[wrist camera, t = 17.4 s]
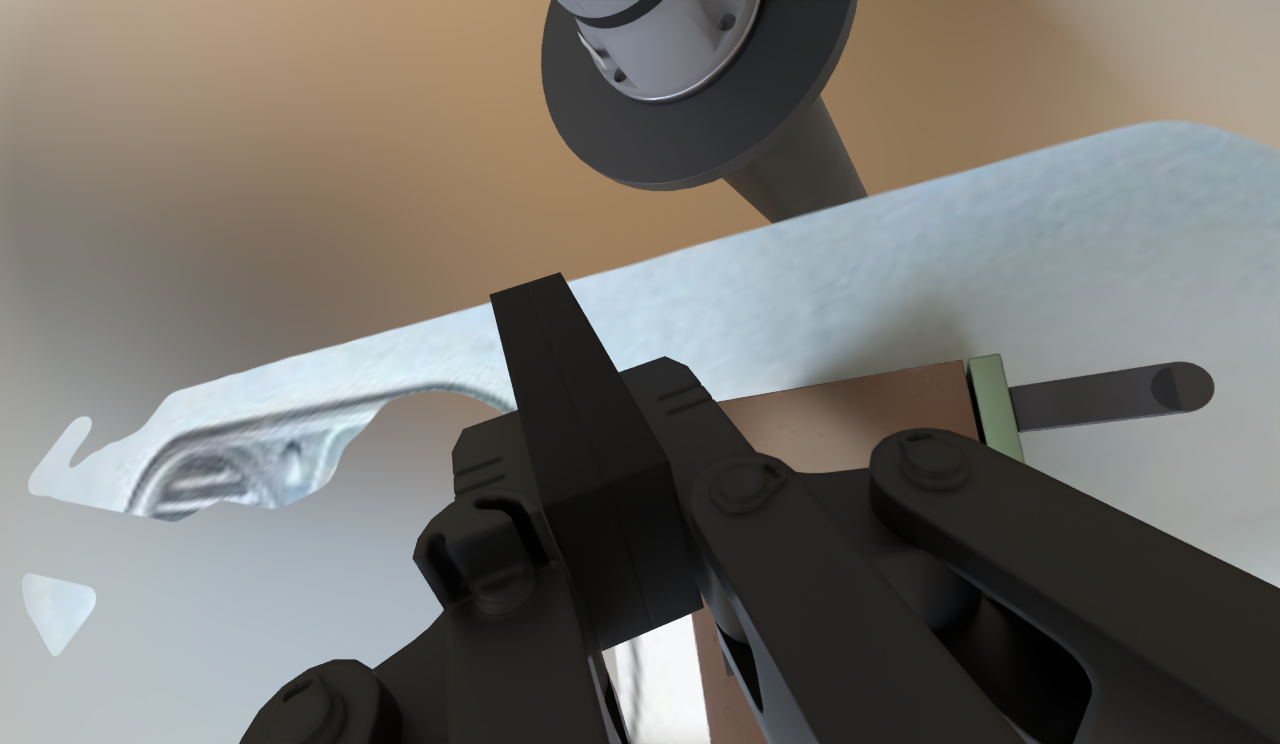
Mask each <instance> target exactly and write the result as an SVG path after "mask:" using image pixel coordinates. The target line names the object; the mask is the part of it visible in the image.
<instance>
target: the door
mask: <svg viewBox="0 0 1280 744" xmlns="http://www.w3.org/2000/svg"><path fill="white" fill-rule="evenodd" d="M966 379H967V384H968V388H969V393H970V397H971V402H972V406H973V411H974V415H975V420H976V425H977V429H978V434H979V438H980V442H981V443H983V444H985V445H987V446H989V447H991V448H993V449H995V450H997V451H999V452H1001V453H1003V454H1005V455H1007V456H1009V457H1011V458H1014V459H1016V460H1018V461H1020V462H1022V463H1024V464H1025V460H1024V456H1023V451H1022V447H1021V442H1020V438H1019V434H1018V432H1020V433H1023V432H1031V431H1040V430H1048V429H1056V428H1064V427H1073V426H1081V425H1089V424H1098V423H1106V422H1114V421H1123V420H1131V419H1139V418H1147V417H1156V416H1164V415H1172V414H1181V413H1189V412H1193V411H1196V410H1199V409H1201V408H1202V407H1204V406H1205V405H1206V404H1208V403H1209V401H1210V400H1211V399H1212V397H1213V394H1214V390H1215V386H1214V382H1213V379H1212V377H1211V376H1210V374H1209V373H1208V372H1207V371H1206V370H1205V369H1203V368H1202V367H1200V366H1198V365H1196V364H1193V363H1188V362H1171V363H1165V364H1158V365H1151V366H1145V367H1138V368H1132V369H1125V370H1119V371H1112V372H1105V373H1099V374H1092V375H1086V376H1079V377H1073V378H1066V379H1060V380H1053V381H1046V382H1040V383H1033V384H1027V385H1020V386H1014V387H1008V385H1007V381H1006V377H1005V372H1004V368H1003V363H1002V359H1001V355H1000V354H992V355H987V356H981V357H975V358H970V359H969V360H968V366H967V374H966Z"/></svg>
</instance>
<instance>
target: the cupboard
mask: <svg viewBox="0 0 1280 744" xmlns="http://www.w3.org/2000/svg"><path fill="white" fill-rule="evenodd" d="M717 404H718V405H719V406H720V407H721V409H722V410H723V411H724V412H725V413H726V415H727V416H728V417H729V418H730V420H731V421H732V422H733V423H734V425H735V426H736V427H737V428H738V430H739V431H740V432H741V433H742V435H743V436H744V437H745V438H746V440H747V441H748V442H749V443H750V445H751V446H752V447H753V448H754V450H755V451H756V452H760V453H763V454H766V455H770V456H773V457H776V458H779V459H780V460H782V461H783V462H784V463H786V464H787V465H788V466H789V467H791V468H792V469H793V470H794V471H796V472H803V473H828V472H836V471H844V470H852V469H860V468H868V467H869V463H870V458H871V453H872V450H873V449H874V448H875V447H876V446H877V445H878V444H879V442H880V441H881V440H882V439H883V438H885V437H888V436H890V435H892V434H894V433H897V432H899V431H901V430H909V429H916V428H933V429H943V430H950V431H953V432H955V433H958V434H961V435H964V436H967V437H970V438H973V439H975V440H977V441H979V437H978V432H977V427H976V423H975V418H974V413H973V409H972V404H971V399H970V395H969V390H968V385H967V380H966V376H965V371H964V366H963V362H962V360H956V361H950V362H944V363H939V364H933V365H927V366H921V367H916V368H910V369H904V370H898V371H892V372H887V373H881V374H875V375H869V376H864V377H858V378H852V379H846V380H841V381H835V382H829V383H823V384H817V385H812V386H806V387H800V388H794V389H789V390H783V391H777V392H771V393H765V394H760V395H754V396H748V397H742V398H737V399H731V400H725V401H719V402H717ZM979 442H980V441H979ZM700 592H701V591H700ZM701 596H702V600H703V605H704V608H703V609H700V610H698V611H696V612H693V613H691V615H692V622H693V629H694V635H695V642H696V649H697V655H698V662H699V669H700V676H701V682H702V689H703V696H704V702H705V709H706V716H707V723H708V729H709V736H710V743H711V744H768V742H767V740H766V738H765V736H764V734H763V732H762V730H761V728H760V726H759V724H758V721H757V719H756V717H755V715H754V713H753V711H752V709H751V707H750V705H749V703H748V701H747V699H746V697H745V695H744V692H743V690H742V688H741V686H740V684H739V682H738V680H737V678H736V676H735V674H734V675H732V676H730V677H728V676H727V672H726V668H725V664H724V660H723V656H722V651H721V647H720V642H719V638H718V634H717V629H716V625H715V620H714V617H713V615H712V613H711V611H710V609H709V607H708V605H707V603H706V601H705V599H704V597H703V595H702V593H701Z"/></svg>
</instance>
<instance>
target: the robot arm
mask: <svg viewBox="0 0 1280 744" xmlns="http://www.w3.org/2000/svg"><path fill="white" fill-rule="evenodd" d="M557 1H558V2H559V3H561V4H562V5H563V6H564V7H565V8H566V9H567V10H568V11H569V12H570V13H571V14H572V15H573V16H574V17H575V18H576V21H577V23H578V25H579V28H580V30H581V32H582V35H583V37H584V38H583V37H582V36H581V35H580V34H579V33H578V34H579V36H580V38H581V41H582V43H583V44H584V45H585V46H586V47H587V48H588V50H589V51H590V53H591V55H592V58H593V60H594V62H595V64H596V66H597V67H598V69H599V70H600V72H601V73H602V74H603V76H604V77H605V78H606V80H607V81H608V82H609V83H610V84H611V85H612V86H613V87H614V88H616V89H617V90H618V91H619V92H620V93H621V94H623V95H624V96H625V97H627V98H629V99H630V100H633V101H635V102H638V103H641V104H645V105H654V106H660V105H669V104H675V103H678V102H682V101H684V100H687V99H689V98H692V97H694V96H696V95H698V94H700V93H701V92H703V91H704V90H706V89H708V88H709V87H710V86H712V85H713V84H714V83H716V82H717V81H718V80H719V79H720V78H722V77H723V76H724V75H725V74H726V73H727V72H728V71H729V70H730V69H731V67H732V66H733V65H734V64H735V63H736V62H737V60H738V59H739V58H740V56H741V55H742V53H743V52H744V50H745V49H746V47H747V46H748V44H749V42H750V40H751V38H752V37H753V35H754V32H755V30H756V28H757V25H758V23H759V20H760V17H761V14H762V10H763V6H764V0H557ZM584 39H585V40H584ZM490 298H491V302H492V306H493V311H494V315H495V319H496V323H497V327H498V331H499V335H500V339H501V343H502V347H503V351H504V355H505V359H506V363H507V367H508V371H509V375H510V379H511V383H512V387H513V392H514V396H515V400H516V404H517V408H518V410H516V411H513V412H511V413H508V414H505V415H502V416H500V417H496V418H493V419H491V420H488V421H485V422H482V423H479V424H476V425H474V426H471V427H468V428H465V429H463V431H462V433H461V435H460V437H459V439H458V441H457V443H456V445H455V447H454V449H453V451H452V461H453V474H454V492H455V495H456V497H455V501H454V502H453V503H451V504H450V505H448V506H447V507H446V508H445V509H443V510H442V511H441V512H440V513H439V514H437V515H436V516H435V517H434V518H433V519H431V521H430V522H429V523H428V525H427V526H426V528H425V529H424V531H423V532H422V534H421V535H420V536H419V538H418V540H417V543H416V547H415V551H414V555H413V560H414V561H415V563H416V564H417V566H418V568H419V570H420V571H421V573H422V574H423V576H424V578H425V579H426V581H427V583H428V584H429V586H430V587H431V589H432V591H433V592H434V594H435V595H436V597H437V599H438V600H439V602H440V603H441V605H442V607H443V608H444V611H443V612H442V613H441V615H440V616H439V617H438V618H437V619H436V620H435V621H434V623H433V624H432V625H431V626H430V627H429V628H428V629H427V630H425V631H424V632H423V633H422V634H421V635H419V636H418V637H417V638H416V639H415V640H413V641H412V642H411V643H409V644H408V645H407V646H405V647H404V648H402V649H401V650H400V651H398V652H397V653H395V654H394V655H392V656H391V657H390V658H388V659H387V660H385V661H384V662H382V663H381V664H380V665H378V666H377V667H375V668H374V669H371V668H369V667H368V666H366V665H364V664H363V663H361V662H359V661H358V660H355V659H354V660H353V659H350V660H348V659H347V660H346V659H345V660H344V659H342V660H341V659H339V660H338V659H336V660H335V659H334V660H331V661H329V662H326V663H323V664H321V665H318V666H315V667H312V668H310V669H308V670H306V671H305V672H303V673H302V674H300V675H299V676H297V677H296V678H294V679H293V680H292V681H290V682H288V683H287V684H286V685H284V686H283V687H282V688H281V689H280V690H279V691H278V692H277V693H276V694H275V695H274V696H273V697H272V698H271V699H270V700H269V701H268V702H267V703H266V704H265V705H264V706H263V707H262V708H261V709H260V710H259V712H258V713H257V715H256V717H255V718H254V720H253V721H252V723H251V725H250V726H249V728H248V729H247V731H246V732H245V734H244V736H243V737H242V739H241V741H240V743H239V744H631V741H630V738H629V734H628V731H627V727H626V724H625V721H624V717H623V714H622V710H621V707H620V704H619V700H618V697H617V693H616V690H615V688H614V685H613V683H612V681H611V678H610V676H609V673H608V671H607V669H606V665H605V662H604V658H603V655H602V651H604V650H606V649H608V648H611V647H613V646H616V645H618V644H620V643H623V642H625V641H627V640H630V639H632V638H635V637H637V636H639V635H642V634H644V633H646V632H649V631H651V630H653V629H656V628H658V627H660V626H663V625H665V624H668V623H670V622H672V621H675V620H677V619H679V618H682V617H684V616H686V615H689V614H691V613H693V612H696V611H698V610H700V609H703V608H704V605H703V600H702V596H701V593H702V595H703V597H704V599H705V601H706V603H707V605H708V607H709V609H710V611H711V613H712V615H713V617H714V620H715V625H716V629H717V634H718V638H719V642H720V647H721V651H722V656H723V660H724V664H725V668H726V672H727V676H728V677H730V676H732V675H734V674H735V676H736V678H737V680H738V682H739V684H740V686H741V688H742V690H743V692H744V695H745V697H746V699H747V701H748V703H749V705H750V707H751V709H752V711H753V713H754V715H755V717H756V719H757V721H758V724H759V726H760V728H761V730H762V732H763V734H764V736H765V738H766V740H767V742H768V744H1280V588H1278V587H1276V586H1274V585H1272V584H1270V583H1268V582H1266V581H1264V580H1262V579H1259V578H1257V577H1255V576H1253V575H1251V574H1249V573H1247V572H1245V571H1243V570H1241V569H1239V568H1237V567H1235V566H1233V565H1231V564H1229V563H1227V562H1225V561H1223V560H1221V559H1218V558H1216V557H1214V556H1212V555H1210V554H1208V553H1206V552H1204V551H1202V550H1200V549H1198V548H1196V547H1194V546H1192V545H1190V544H1188V543H1186V542H1184V541H1182V540H1180V539H1177V538H1175V537H1173V536H1171V535H1169V534H1167V533H1165V532H1163V531H1161V530H1159V529H1157V528H1155V527H1153V526H1151V525H1149V524H1147V523H1145V522H1143V521H1141V520H1139V519H1136V518H1134V517H1132V516H1130V515H1128V514H1126V513H1124V512H1122V511H1120V510H1118V509H1116V508H1114V507H1112V506H1110V505H1108V504H1106V503H1104V502H1102V501H1100V500H1098V499H1095V498H1093V497H1091V496H1089V495H1087V494H1085V493H1083V492H1081V491H1079V490H1077V489H1075V488H1073V487H1071V486H1069V485H1067V484H1065V483H1063V482H1061V481H1059V480H1057V479H1055V478H1052V477H1050V476H1048V475H1046V474H1044V473H1042V472H1040V471H1038V470H1036V469H1034V468H1032V467H1030V466H1028V465H1026V464H1024V463H1022V462H1020V461H1018V460H1016V459H1014V458H1011V457H1009V456H1007V455H1005V454H1003V453H1001V452H999V451H997V450H995V449H993V448H991V447H989V446H987V445H985V444H983V443H981V442H979V441H977V440H975V439H973V438H970V437H967V436H964V435H961V434H958V433H955V432H953V431H950V430H943V429H933V428H916V429H909V430H901V431H899V432H897V433H894V434H892V435H890V436H888V437H885V438H883V439H882V440H881V441H880V442H879V444H878V445H877V446H876V447H875V448H874V449H873V450H872V453H871V458H870V463H869V467H868V468H860V469H852V470H844V471H836V472H828V473H803V472H796V471H794V470H793V469H792V468H791V467H789V466H788V465H787V464H786V463H784V462H783V461H782V460H780V459H779V458H776V457H773V456H770V455H766V454H763V453H760V452H756V451H755V450H754V448H753V447H752V446H751V445H750V443H749V442H748V441H747V440H746V438H745V437H744V436H743V435H742V433H741V432H740V431H739V430H738V428H737V427H736V426H735V425H734V423H733V422H732V421H731V420H730V418H729V417H728V416H727V415H726V413H725V412H724V411H723V410H722V409H721V407H720V406H719V405H718V404H717V402H716V401H715V400H713V399H712V397H711V395H710V394H709V392H708V391H707V390H706V389H705V387H704V386H702V385H701V382H700V381H699V380H698V379H697V377H696V376H695V375H694V374H693V372H692V371H691V370H690V369H689V367H688V366H686V365H684V364H681V363H679V362H677V361H675V360H672V359H670V358H668V357H666V356H664V357H661V358H658V359H656V360H653V361H650V362H647V363H644V364H641V365H638V366H636V367H633V368H630V369H627V370H624V371H621V372H618V371H617V369H616V367H615V366H614V364H613V362H612V360H611V359H610V357H609V355H608V354H607V352H606V350H605V348H604V347H603V345H602V343H601V342H600V340H599V338H598V336H597V335H596V333H595V331H594V329H593V328H592V326H591V324H590V323H589V321H588V319H587V317H586V316H585V314H584V312H583V310H582V309H581V307H580V305H579V304H578V302H577V300H576V298H575V297H574V295H573V293H572V291H571V290H570V288H569V286H568V285H567V283H566V281H565V279H564V278H563V276H562V274H561V273H560V272H559V273H556V274H553V275H550V276H547V277H544V278H541V279H537V280H534V281H531V282H528V283H525V284H521V285H519V286H515V287H512V288H509V289H506V290H503V291H500V292H497V293H493V294H490ZM700 591H701V592H700Z"/></svg>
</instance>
